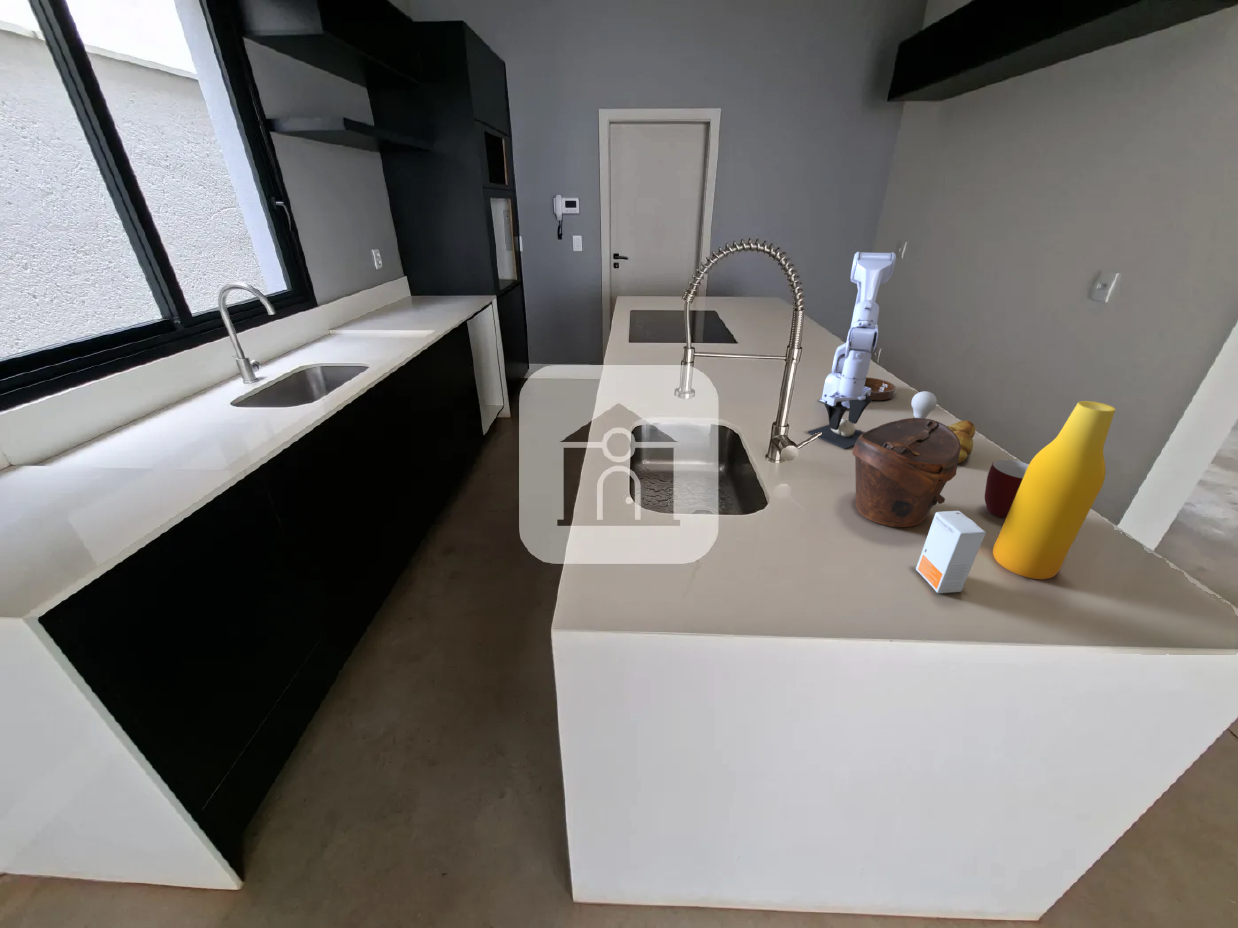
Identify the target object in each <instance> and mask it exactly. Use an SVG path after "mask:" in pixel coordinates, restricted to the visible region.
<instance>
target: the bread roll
mask: <svg viewBox="0 0 1238 928" xmlns="http://www.w3.org/2000/svg"><path fill="white" fill-rule="evenodd" d="M946 426H947V427H948V428H950V429H951V430H952V431H953V432H954V433H955V434H956V436H957V437H958V439H959V441H960V444H961V451H960V454H959V459H958V463H957V464H962V463H963V462H964V461H965V460H966V459H967V458H968V456H970V455H971V453H972V451H973V448H974V439H973V438H974V437H975V434H976V425H974V423H973V422H972V421H970V420H967V419H966V420H965V419H964V420H959V421H957V422H954V423H952V424H950V425H946Z"/></svg>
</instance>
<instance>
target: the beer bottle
mask: <svg viewBox="0 0 1238 928" xmlns="http://www.w3.org/2000/svg"><path fill="white" fill-rule="evenodd" d="M1115 413H1116V408H1115V407H1114V406H1112V405H1109V404H1106V403H1102V402H1099V401H1090V400H1081V401H1078V402H1077V403H1076V405H1075V406H1074V408H1073V410H1072V411H1071V413H1070V414H1069V416H1068V418H1067V420H1066V422H1065V423H1064V425H1063V426H1062V428H1061V430H1060V431H1059V433H1058V434H1057V436H1056V437H1055V438H1054V439H1053V440H1051V442H1049V444H1047V445H1045V446H1044V447H1043V448H1041V450H1039V451H1038V452H1037V453H1036V454H1035V455H1034V457H1033V458H1032V459H1031V460H1030V462H1029V463H1028V464H1029V466H1028V467H1027V470H1026V472H1025V475H1024V477H1023V480H1022V482H1021V484H1020V487H1019V489H1018V491H1017V494H1016V496H1015V499H1014V501H1013V503H1012V506H1011V508H1010V510H1009V513H1008V515H1007V517H1006V518H1005V520H1004V522H1003V525H1002V526H1001V529H1000V531H999V534H998V535H997V538H996V540H995V542H994V544H993V547H992V555H993V558H994V560H995V561H996V562H997V563H998V564H999V565H1000V566H1001V567H1003V569H1005V570H1007V571H1009V572H1011V573H1014V574H1015V575H1018V576H1020V577H1024V578H1028V579H1034V580H1048V579H1051V578H1054V577H1055V576H1056V575H1057V574H1058V573H1059V571H1061V568H1062V566H1063V564H1064V562H1065V559H1066V557H1067V555H1068V554H1069V551H1070V549H1071V548H1072V545H1073V543H1074V542H1075V539H1076V537H1077V536H1078V534H1079V533H1080V531H1081V528H1082V527H1083V524H1084V522H1085V520H1086V519H1087V516H1088V514H1089V512H1090V510H1091V508H1092V507H1093V505H1094V503H1095V501H1096V499H1097V497H1098V496H1099V493H1100V491H1101V490H1102V488H1103V486H1104V483H1105V480H1106V479H1105V478H1106V474H1107V473H1106V472H1107V471H1106V470H1107V469H1106V461H1105V456H1104V447H1105V444H1106V440H1107V436H1108V434H1109V431H1110V428H1111V425H1112V422H1113V419H1114V417H1115V416H1114V415H1115Z"/></svg>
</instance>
